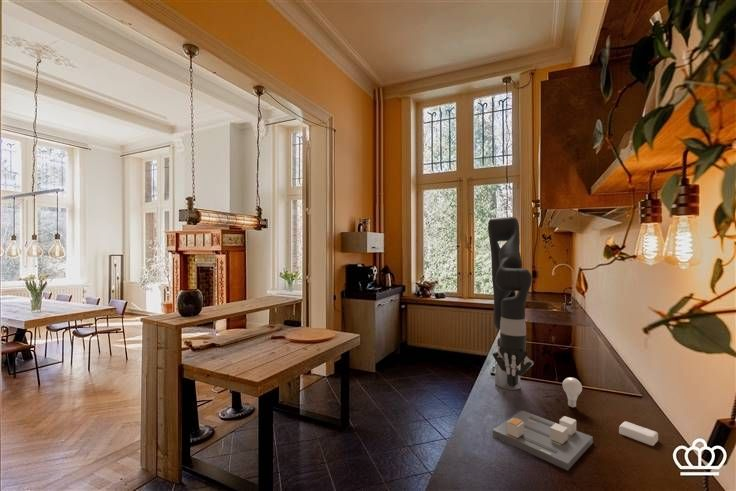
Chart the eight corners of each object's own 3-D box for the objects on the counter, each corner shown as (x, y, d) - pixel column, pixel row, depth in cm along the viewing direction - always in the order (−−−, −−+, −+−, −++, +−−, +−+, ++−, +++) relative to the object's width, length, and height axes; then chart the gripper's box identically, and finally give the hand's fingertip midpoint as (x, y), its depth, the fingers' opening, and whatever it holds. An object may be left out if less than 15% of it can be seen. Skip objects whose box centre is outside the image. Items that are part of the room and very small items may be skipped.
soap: (618, 434, 112) (618, 425, 112) (624, 428, 115) (624, 420, 115) (653, 447, 105) (653, 437, 105) (658, 441, 108) (658, 431, 108)
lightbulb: (562, 408, 128) (562, 379, 128) (562, 401, 134) (562, 373, 134) (582, 412, 125) (582, 382, 125) (581, 405, 131) (581, 376, 131)
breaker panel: (492, 435, 110) (492, 417, 110) (522, 415, 123) (522, 399, 123) (567, 470, 93) (567, 449, 93) (592, 443, 106) (592, 424, 106)
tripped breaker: (506, 433, 107) (506, 421, 107) (513, 428, 110) (513, 416, 110) (517, 438, 105) (517, 425, 105) (524, 433, 107) (524, 421, 107)
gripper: (487, 329, 111) (487, 383, 111) (528, 338, 101) (528, 396, 101) (498, 325, 116) (498, 376, 116) (539, 333, 106) (539, 389, 106)
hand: (512, 386), depth 109 cm, fingers closed
